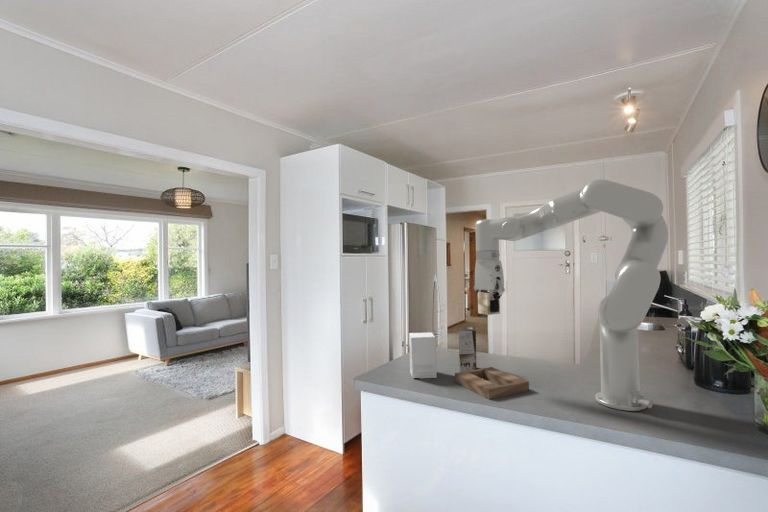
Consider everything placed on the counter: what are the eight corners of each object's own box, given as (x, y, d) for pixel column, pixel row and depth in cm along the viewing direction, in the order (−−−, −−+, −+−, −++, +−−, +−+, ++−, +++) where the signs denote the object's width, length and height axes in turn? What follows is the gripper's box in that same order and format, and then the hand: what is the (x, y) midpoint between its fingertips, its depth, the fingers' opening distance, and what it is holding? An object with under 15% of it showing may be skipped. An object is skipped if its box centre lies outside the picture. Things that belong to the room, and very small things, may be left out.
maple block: (499, 313, 124) (499, 292, 124) (487, 314, 122) (487, 293, 122) (490, 311, 128) (489, 291, 128) (478, 313, 126) (477, 292, 126)
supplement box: (433, 370, 143) (432, 331, 143) (437, 378, 134) (436, 336, 134) (409, 371, 143) (408, 332, 143) (411, 379, 134) (411, 337, 134)
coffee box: (477, 374, 138) (476, 330, 138) (459, 373, 139) (458, 330, 139) (476, 367, 147) (475, 326, 147) (459, 366, 148) (458, 325, 148)
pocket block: (529, 390, 120) (528, 381, 120) (488, 399, 113) (488, 389, 113) (491, 375, 136) (491, 367, 136) (454, 381, 130) (454, 373, 130)
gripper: (514, 256, 119) (516, 313, 119) (480, 256, 134) (481, 307, 134) (495, 256, 116) (497, 315, 116) (463, 257, 131) (464, 308, 131)
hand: (488, 310), depth 125 cm, fingers closed on maple block, 5 cm apart
